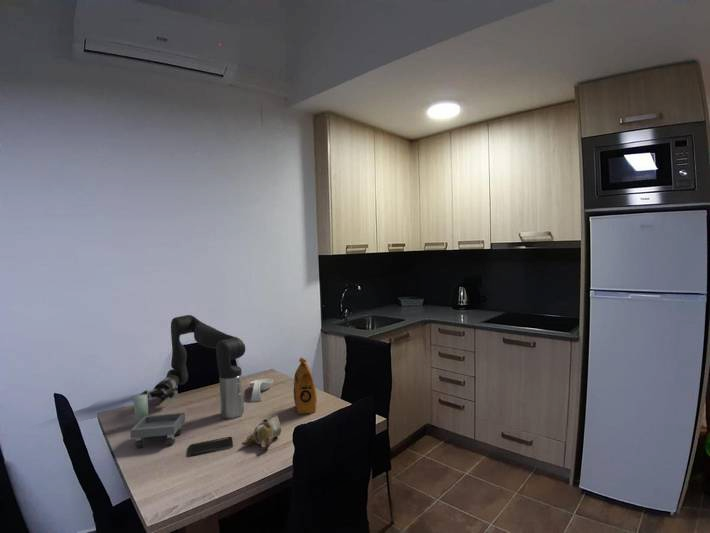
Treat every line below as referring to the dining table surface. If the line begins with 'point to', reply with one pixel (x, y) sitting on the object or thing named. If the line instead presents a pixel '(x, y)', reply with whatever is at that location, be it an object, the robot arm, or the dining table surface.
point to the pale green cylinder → (140, 407)
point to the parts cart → (158, 427)
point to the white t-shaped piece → (259, 388)
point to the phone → (210, 446)
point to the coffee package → (304, 389)
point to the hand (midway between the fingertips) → (151, 400)
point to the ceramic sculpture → (264, 433)
